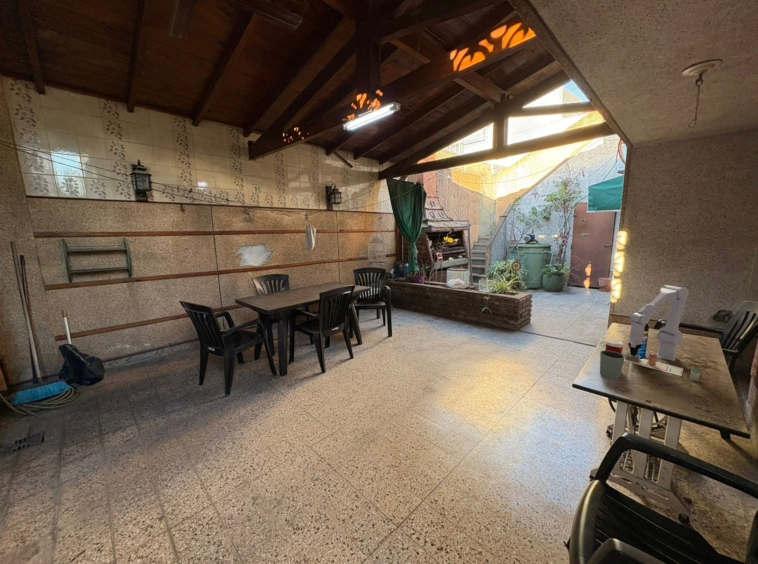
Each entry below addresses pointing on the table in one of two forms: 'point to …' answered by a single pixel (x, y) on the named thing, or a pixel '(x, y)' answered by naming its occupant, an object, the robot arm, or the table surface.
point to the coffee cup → (614, 346)
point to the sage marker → (695, 374)
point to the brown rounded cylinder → (652, 359)
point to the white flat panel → (659, 366)
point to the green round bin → (611, 364)
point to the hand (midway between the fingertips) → (633, 355)
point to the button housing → (633, 358)
